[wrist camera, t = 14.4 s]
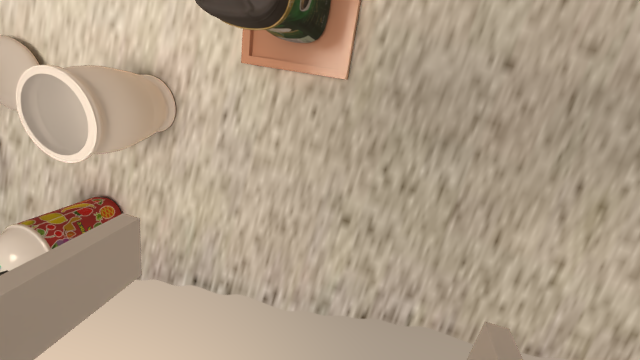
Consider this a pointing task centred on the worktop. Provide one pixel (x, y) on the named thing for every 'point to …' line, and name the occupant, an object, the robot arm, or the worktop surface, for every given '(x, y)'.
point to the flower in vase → (12, 68)
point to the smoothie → (52, 230)
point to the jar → (91, 109)
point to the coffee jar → (274, 16)
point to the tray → (309, 45)
